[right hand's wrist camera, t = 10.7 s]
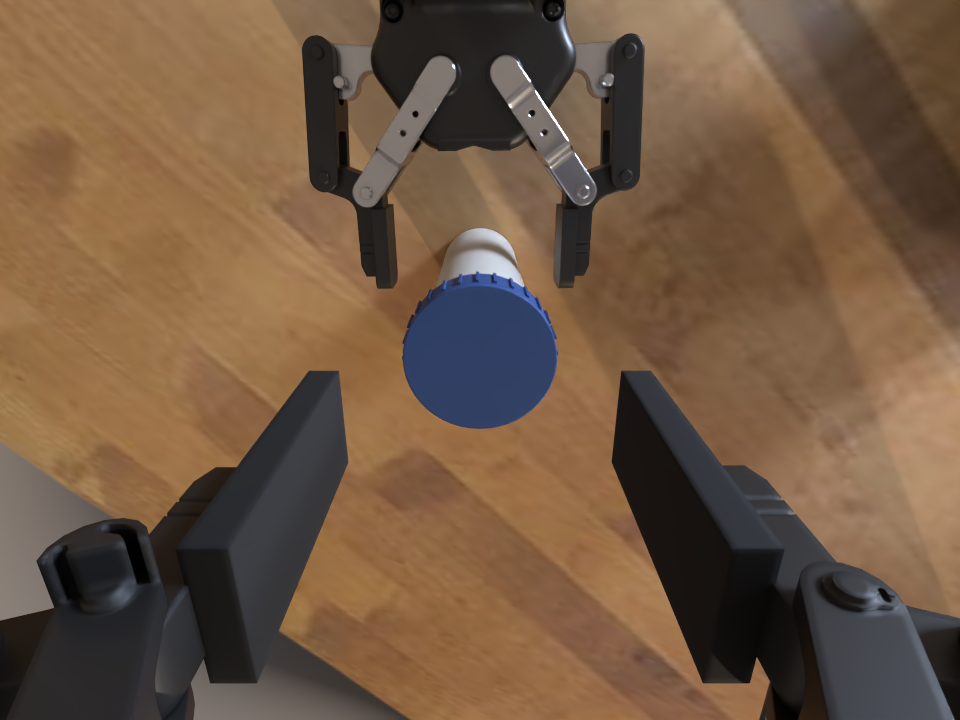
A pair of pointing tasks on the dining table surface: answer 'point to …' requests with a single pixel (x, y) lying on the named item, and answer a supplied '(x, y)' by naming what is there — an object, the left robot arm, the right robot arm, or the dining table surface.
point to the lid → (479, 351)
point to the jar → (479, 256)
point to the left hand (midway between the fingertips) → (475, 284)
